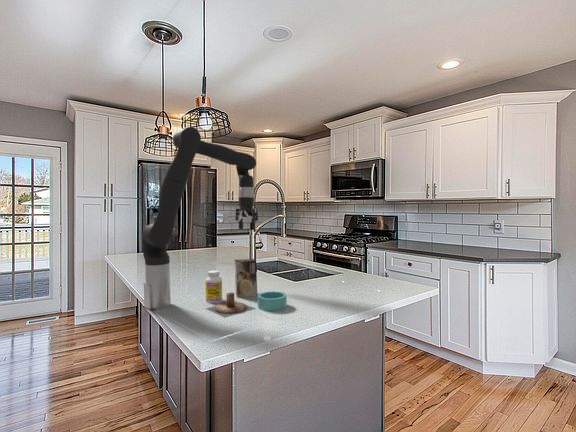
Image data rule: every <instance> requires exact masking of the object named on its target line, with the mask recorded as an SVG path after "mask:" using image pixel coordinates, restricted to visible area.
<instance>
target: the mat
mask: <svg viewBox="0 0 576 432" xmlns="http://www.w3.org/2000/svg"><path fill="white" fill-rule="evenodd" d="M234 302H238V301H237V300H234ZM215 306H216V305H214V306H211V307H206V308H204V309H205V310H207V311H210V312H212V313H214V314H216V315H217V316H221V317H223V318H228V317H232V316H235V315H238V314H241V313H245V312H249V311H253V310H256V307H253V306H250V305H247V304H246V309H245V310H244V311H241V312H238V313H232V314H223V313H218V312H216V311H215Z"/></svg>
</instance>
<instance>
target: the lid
mask: <svg viewBox="0 0 576 432" xmlns="http://www.w3.org/2000/svg"><path fill="white" fill-rule="evenodd" d="M225 295H226V296H225V297H226V302H220V303H219V304H216V305H214V306H215V311H216V312H218V313H223V314H232V313H238V312H241V311H244V310H245V309H246V305H247V304H245V303H243V302H240V301H237V302H234V301H235V292H227V293H226V294H225Z"/></svg>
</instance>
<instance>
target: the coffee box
mask: <svg viewBox="0 0 576 432" xmlns="http://www.w3.org/2000/svg"><path fill="white" fill-rule="evenodd" d="M257 276H258V275H257V259H255V258H243V259H242V258H241V259H240V258H239V259H234V286H235V287H234V288H235V289H234V290H235V291H234V295H235V297H236V298H245V297H256V296H257V297H258V282H257V281H258V277H257Z"/></svg>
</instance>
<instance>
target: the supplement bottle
mask: <svg viewBox="0 0 576 432" xmlns="http://www.w3.org/2000/svg"><path fill="white" fill-rule="evenodd" d="M207 275H208V277H206V279H205V302H206V303H208V304H216V303H222V301H223V279H222V277H221V276H220V270H216V269H215V270H209V271H207Z"/></svg>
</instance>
